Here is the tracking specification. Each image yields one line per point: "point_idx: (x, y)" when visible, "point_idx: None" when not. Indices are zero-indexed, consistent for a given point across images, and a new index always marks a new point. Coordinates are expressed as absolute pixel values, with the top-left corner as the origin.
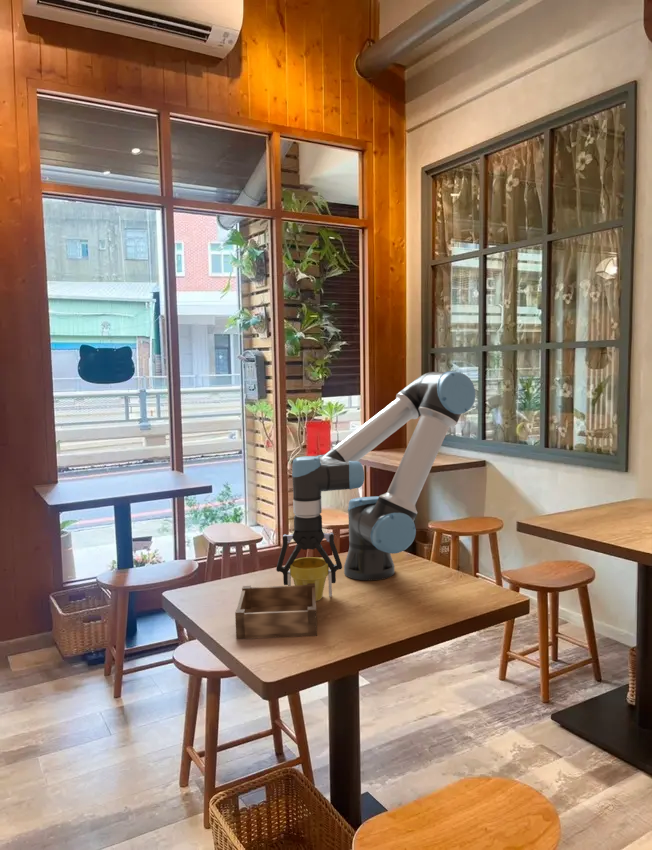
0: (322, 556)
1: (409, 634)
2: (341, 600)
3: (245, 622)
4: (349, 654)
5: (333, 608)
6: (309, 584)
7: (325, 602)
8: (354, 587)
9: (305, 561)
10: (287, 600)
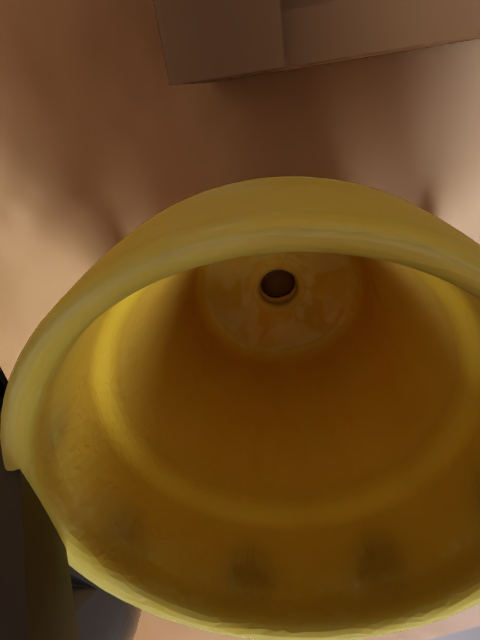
0: (13, 585)
1: None
2: (44, 230)
3: None
4: None
5: (49, 39)
6: (242, 11)
7: (149, 187)
8: None
9: (339, 583)
10: None
